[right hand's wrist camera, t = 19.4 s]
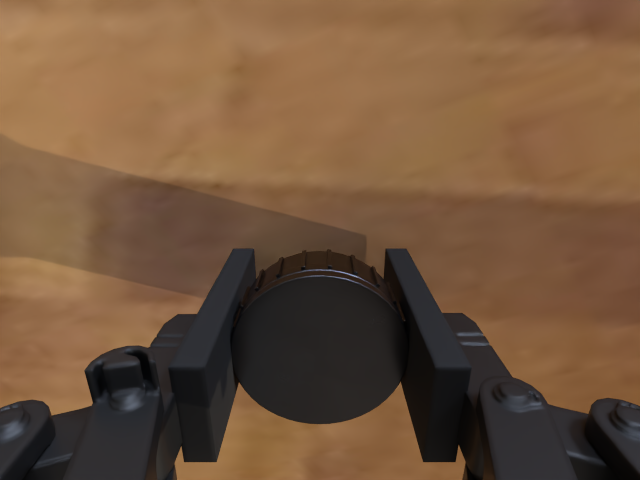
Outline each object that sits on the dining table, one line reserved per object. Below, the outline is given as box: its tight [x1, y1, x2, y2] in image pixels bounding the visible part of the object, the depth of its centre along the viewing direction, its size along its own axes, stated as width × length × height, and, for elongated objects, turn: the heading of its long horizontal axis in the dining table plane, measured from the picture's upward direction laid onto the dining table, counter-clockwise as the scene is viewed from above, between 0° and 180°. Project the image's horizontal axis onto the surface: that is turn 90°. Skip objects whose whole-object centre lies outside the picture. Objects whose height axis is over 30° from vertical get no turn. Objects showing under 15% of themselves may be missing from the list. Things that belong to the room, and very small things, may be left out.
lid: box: [231, 250, 409, 424], centre depth 11 cm, size 5×5×2 cm
